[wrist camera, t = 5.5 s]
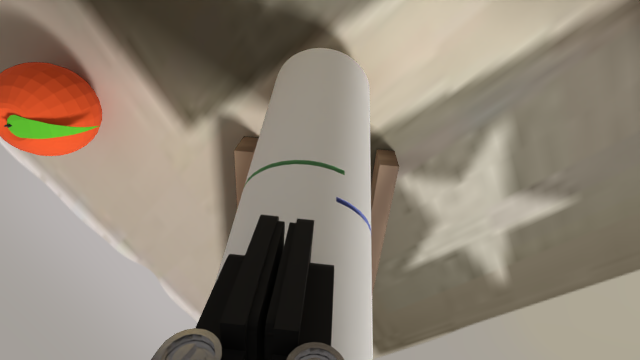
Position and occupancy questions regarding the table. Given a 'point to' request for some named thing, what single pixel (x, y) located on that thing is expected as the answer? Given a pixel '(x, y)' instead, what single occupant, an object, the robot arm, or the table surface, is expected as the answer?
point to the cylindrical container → (319, 181)
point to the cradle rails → (380, 190)
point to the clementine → (47, 109)
